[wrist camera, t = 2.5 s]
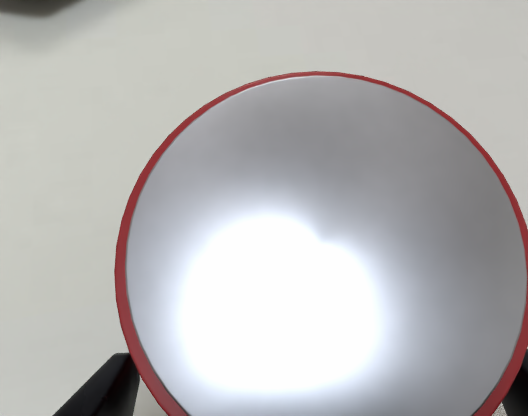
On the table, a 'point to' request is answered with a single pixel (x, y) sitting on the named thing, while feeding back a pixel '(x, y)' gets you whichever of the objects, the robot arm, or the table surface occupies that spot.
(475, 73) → the table surface
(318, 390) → the can
